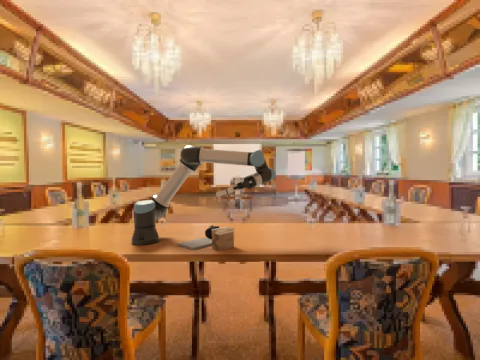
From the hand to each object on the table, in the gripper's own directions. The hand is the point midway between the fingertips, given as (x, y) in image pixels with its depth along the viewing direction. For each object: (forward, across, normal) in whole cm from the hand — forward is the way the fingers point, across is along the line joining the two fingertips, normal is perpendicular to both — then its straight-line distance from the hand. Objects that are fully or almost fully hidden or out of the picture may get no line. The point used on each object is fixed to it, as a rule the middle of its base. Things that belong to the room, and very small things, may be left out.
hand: (221, 193), depth 155 cm
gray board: (+17, +15, -22) cm, 31 cm away
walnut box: (+10, +2, -27) cm, 29 cm away
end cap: (+3, +26, -23) cm, 35 cm away
